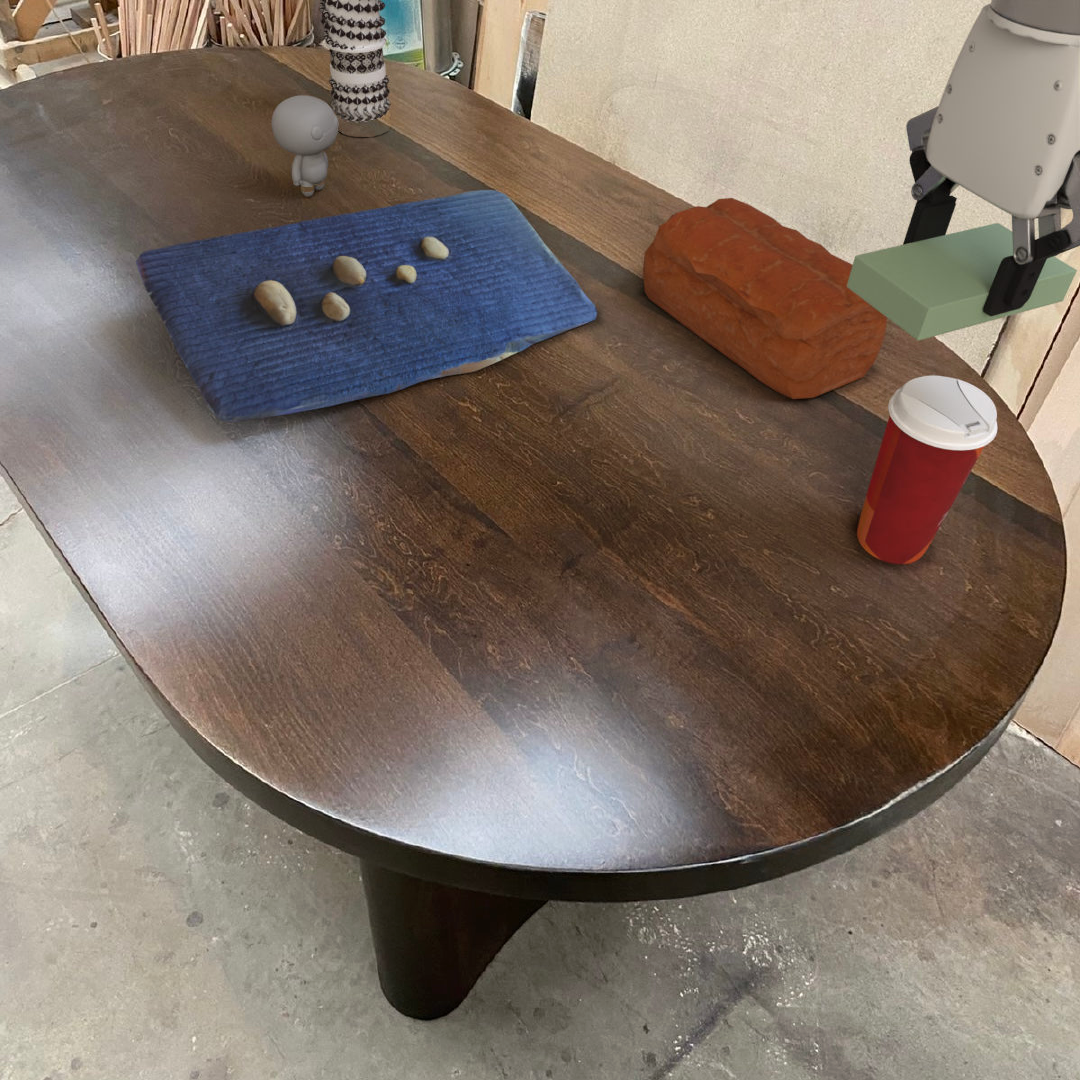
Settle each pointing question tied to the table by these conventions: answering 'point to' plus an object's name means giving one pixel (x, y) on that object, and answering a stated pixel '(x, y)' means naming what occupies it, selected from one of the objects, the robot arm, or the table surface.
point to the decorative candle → (356, 58)
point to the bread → (763, 297)
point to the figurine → (306, 137)
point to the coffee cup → (923, 464)
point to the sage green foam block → (947, 280)
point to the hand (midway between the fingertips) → (959, 279)
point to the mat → (359, 302)
